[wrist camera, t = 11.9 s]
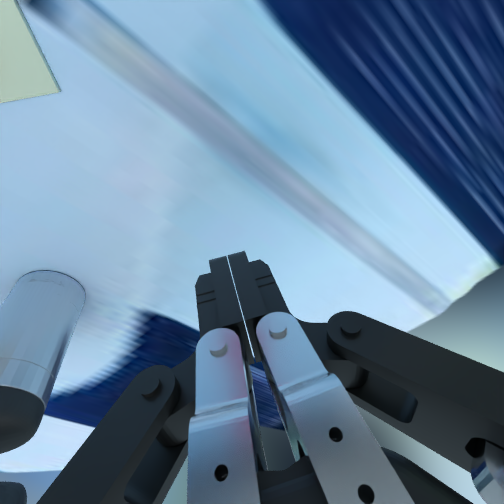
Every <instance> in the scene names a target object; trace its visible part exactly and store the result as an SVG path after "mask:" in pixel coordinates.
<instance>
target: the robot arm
mask: <svg viewBox="0 0 504 504" xmlns="http://www.w3.org/2000/svg"><path fill="white" fill-rule="evenodd" d="M228 259H229V263H230V267H231V271H232V275H233V279H234V283H235V286H236V290H237V294H238V298H239V301H240V305H241V309H242V312H243V316H244V320H245V323H246V327H247V330H248V334H249V338H250V341H251V345H252V349H253V352H254V356H255V360H256V362H259V361H262V363H263V367H264V370H265V374H266V378H267V382H268V385H269V387H270V390H271V393H272V395H273V398H274V401H275V403H276V406H277V408H278V411H279V414H280V416H281V419H282V422H283V424H284V427H285V430H286V432H287V435H288V438H289V441H290V444H291V448H292V451H293V454H294V457H295V460H296V462H295V463H294V464H293V465H291V466H290V467H289V468H287V469H285V470H282V471H268V469H267V464H266V459H265V455H264V450H263V445H262V439H261V433H260V427H259V421H258V415H257V408H256V402H255V396H254V390H253V385H252V384H253V379H252V374H251V370H250V366H249V365H250V364H253V363H254V359H253V355H252V351H251V348H250V344H249V340H248V336H247V332H246V328H245V324H244V320H243V317H242V313H241V309H240V306H239V302H238V298H237V294H236V291H235V287H234V283H233V280H232V276H231V272H230V268H229V265H228V261H227V257H226V256H224V257H220V258H216V259H212V260H209V264H210V269H211V273H208V274H204V275H200V276H199V278H198V280H197V282H196V285H195V290H196V299H197V309H198V319H199V329H200V340H199V342H198V344H197V347H196V350H195V352H194V353H193V354H192V355H191V356H190V357H189V358H188V359H186V360H185V361H183V362H182V363H180V364H178V365H177V366H175V367H174V368H172V369H170V368H168V367H167V366H163V365H155V366H151V367H149V368H147V369H145V370H143V371H142V372H140V373H139V374H138V375H137V376H136V377H135V378H134V379H133V380H132V382H131V383H130V384H129V386H128V387H127V388H126V389H125V391H124V392H123V393H122V395H121V396H120V397H119V398H118V400H117V401H116V402H115V404H114V405H113V406H112V407H111V409H110V410H109V411H108V413H107V414H106V415H105V416H104V418H103V419H102V420H101V421H100V423H99V424H98V425H97V427H96V428H95V429H94V430H93V432H92V433H91V434H90V436H89V437H88V438H87V439H86V441H85V442H84V443H83V445H82V446H81V447H80V448H79V450H78V451H77V452H76V454H75V455H74V456H73V457H72V459H71V460H70V461H69V462H68V464H67V465H66V466H65V468H64V469H63V470H62V471H61V473H60V474H59V476H58V477H57V478H56V479H55V480H54V482H53V483H52V484H51V486H50V487H49V488H48V489H47V491H46V492H45V493H44V495H43V496H42V497H41V498H40V500H39V501H38V502H37V504H162V503H163V501H164V499H165V497H166V495H167V493H168V491H169V489H170V487H171V486H172V484H173V482H174V480H175V478H176V476H177V474H178V472H179V471H180V469H181V467H182V465H183V463H184V461H185V459H186V457H187V455H188V479H187V504H473V503H472V502H470V501H469V500H467V499H466V498H464V497H463V496H461V495H460V494H459V493H457V492H456V491H454V490H453V489H451V488H450V487H448V486H447V485H445V484H444V483H442V482H441V481H439V480H438V479H437V478H435V477H434V476H432V475H431V474H429V473H428V472H426V471H425V470H423V469H422V468H420V467H419V466H418V465H416V464H415V463H413V462H412V461H410V460H408V459H407V458H405V457H403V456H402V455H399V454H398V453H396V452H394V451H391V450H389V449H386V448H383V447H380V446H379V444H378V442H377V441H376V439H375V437H374V436H373V434H372V432H371V431H370V429H369V427H368V426H367V424H366V423H365V421H364V419H363V418H362V416H361V414H360V413H359V411H358V409H357V408H356V406H355V404H356V405H358V406H359V407H361V408H363V409H364V410H366V411H368V412H370V413H371V414H373V415H374V416H376V417H378V418H379V419H381V420H383V421H384V422H386V423H388V424H390V425H391V426H393V427H395V428H396V429H398V430H400V431H401V432H403V433H405V434H406V435H408V436H410V437H411V438H413V439H415V440H416V441H418V442H420V443H421V444H423V445H425V446H426V447H428V448H430V449H431V450H433V451H435V452H436V453H438V454H440V455H441V456H443V457H445V458H446V459H448V460H450V461H451V462H453V463H455V464H457V465H458V466H460V467H462V468H463V469H465V470H467V471H468V472H470V473H471V476H472V480H473V483H474V485H475V487H476V489H477V491H478V493H479V494H480V496H481V497H482V499H483V500H484V501H485V502H486V503H487V504H504V372H501V371H499V370H496V369H494V368H492V367H489V366H486V365H484V364H482V363H479V362H476V361H474V360H472V359H470V358H467V357H465V356H462V355H460V354H457V353H455V352H452V351H450V350H448V349H445V348H443V347H440V346H438V345H435V344H433V343H430V342H428V341H426V340H423V339H420V338H418V337H416V336H413V335H411V334H408V333H406V332H404V331H401V330H399V329H396V328H394V327H391V326H389V325H386V324H384V323H382V322H379V321H377V320H374V319H372V318H369V317H367V316H364V315H362V314H360V313H357V312H352V311H343V312H339V313H336V314H334V315H333V316H332V317H331V318H330V319H329V321H328V323H309V322H304V321H301V320H299V319H297V318H295V317H294V316H293V315H292V314H291V313H290V312H289V310H288V308H287V306H286V303H285V301H284V299H283V297H282V295H281V292H280V290H279V288H278V286H277V284H276V281H275V279H274V277H273V275H272V273H271V270H270V268H269V266H268V265H267V264H265V263H264V262H263V261H261V260H256V261H252V262H249V261H248V259H247V256H246V253H245V251H242V252H239V253H235V254H231V255H228ZM84 301H85V291H84V289H83V288H82V286H81V285H80V284H79V283H78V282H77V281H75V280H74V279H72V278H71V277H69V276H67V275H64V274H61V273H57V272H52V271H36V272H31V273H28V274H26V275H24V276H23V277H21V278H20V279H19V280H18V282H17V283H16V285H15V286H14V288H13V289H12V291H11V292H10V294H9V295H8V297H7V298H6V300H5V301H4V302H3V304H2V305H1V307H0V454H1V453H4V452H8V451H10V450H13V449H15V448H18V447H20V446H21V445H23V444H25V443H26V442H28V441H29V440H30V439H31V438H32V437H33V436H34V434H35V433H36V431H37V429H38V427H39V425H40V423H41V420H42V417H43V414H44V411H45V408H46V406H47V403H48V400H49V397H50V395H51V392H52V389H53V386H54V383H55V381H56V378H57V375H58V372H59V370H60V367H61V364H62V361H63V359H64V356H65V353H66V350H67V348H68V345H69V342H70V339H71V337H72V334H73V331H74V328H75V326H76V323H77V320H78V318H79V315H80V312H81V310H82V307H83V304H84ZM26 503H27V495H26V490H25V488H24V486H23V485H22V484H20V483H15V482H0V504H26Z"/></svg>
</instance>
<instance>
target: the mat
mask: <svg viewBox="0 0 504 504" xmlns="http://www.w3.org/2000/svg"><path fill="white" fill-rule="evenodd" d="M58 92H61V90H60V88H59V86H58V84H57V82H56V80H55V78H54V76H53V74H52V72H51V70H50V68H49V66H48V64H47V62H46V60H45V58H44V56H43V54H42V52H41V50H40V48H39V45H38V43H37V41H36V39H35V37H34V35H33V33H32V31H31V29H30V27H29V25H28V23H27V21H26V19H25V17H24V15H23V13H22V11H21V9H20V7H19V5H18V3H17V1H16V0H0V103H4V102H9V101H14V100H20V99H25V98H31V97H36V96H42V95H47V94H53V93H58Z"/></svg>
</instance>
